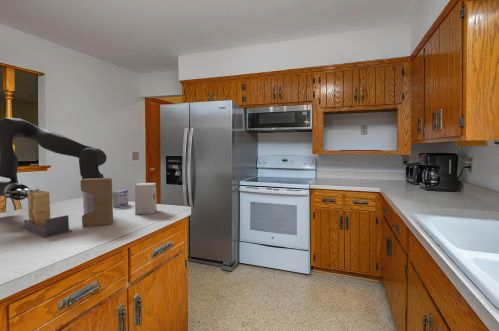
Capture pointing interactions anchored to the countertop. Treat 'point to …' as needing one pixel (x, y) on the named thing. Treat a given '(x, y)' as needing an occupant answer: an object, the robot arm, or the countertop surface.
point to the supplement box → (145, 198)
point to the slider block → (38, 207)
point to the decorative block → (98, 201)
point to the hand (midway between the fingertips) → (29, 195)
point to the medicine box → (120, 198)
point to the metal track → (49, 226)
